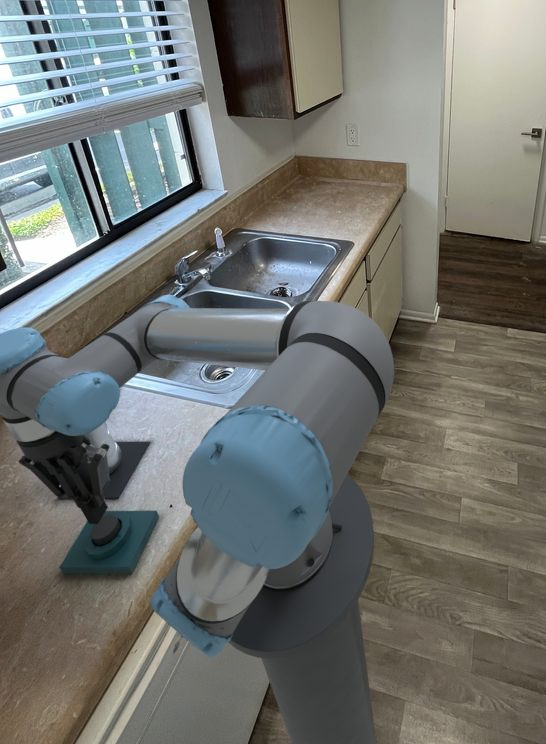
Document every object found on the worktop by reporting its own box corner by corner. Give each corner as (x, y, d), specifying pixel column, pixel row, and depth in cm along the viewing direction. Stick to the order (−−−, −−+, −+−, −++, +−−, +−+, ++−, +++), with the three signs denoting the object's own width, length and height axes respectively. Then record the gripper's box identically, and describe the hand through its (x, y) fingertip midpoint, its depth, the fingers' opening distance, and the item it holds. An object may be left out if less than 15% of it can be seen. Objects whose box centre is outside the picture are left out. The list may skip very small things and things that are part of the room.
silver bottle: (95, 456, 94) (62, 390, 85) (129, 450, 95) (100, 383, 86) (82, 486, 88) (45, 418, 80) (118, 478, 89) (86, 411, 81)
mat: (150, 442, 97) (150, 441, 97) (118, 498, 86) (117, 497, 86) (97, 443, 97) (96, 441, 97) (58, 499, 86) (57, 497, 86)
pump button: (125, 520, 79) (122, 514, 78) (112, 545, 76) (108, 539, 75) (103, 521, 79) (100, 514, 78) (89, 546, 76) (85, 539, 75)
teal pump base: (159, 517, 83) (153, 504, 81) (132, 573, 75) (125, 561, 73) (97, 517, 83) (90, 505, 81) (63, 574, 75) (55, 561, 73)
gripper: (105, 399, 68) (147, 492, 78) (23, 400, 68) (76, 493, 78) (72, 443, 61) (123, 539, 71) (-19, 445, 62) (45, 540, 72)
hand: (98, 515), depth 75 cm, fingers closed
